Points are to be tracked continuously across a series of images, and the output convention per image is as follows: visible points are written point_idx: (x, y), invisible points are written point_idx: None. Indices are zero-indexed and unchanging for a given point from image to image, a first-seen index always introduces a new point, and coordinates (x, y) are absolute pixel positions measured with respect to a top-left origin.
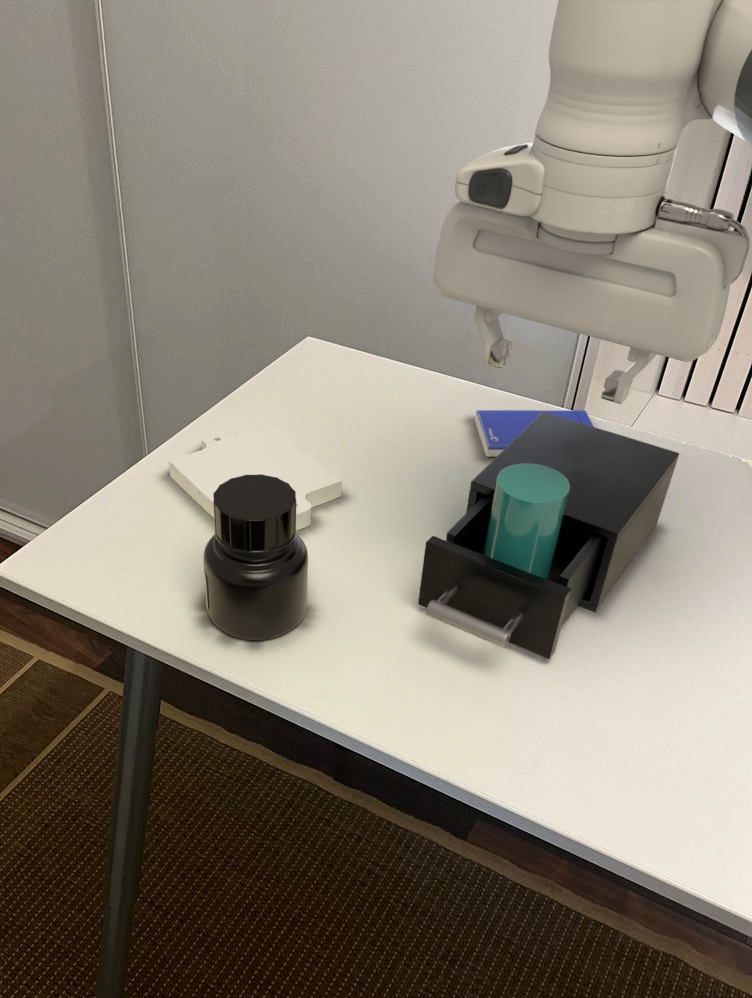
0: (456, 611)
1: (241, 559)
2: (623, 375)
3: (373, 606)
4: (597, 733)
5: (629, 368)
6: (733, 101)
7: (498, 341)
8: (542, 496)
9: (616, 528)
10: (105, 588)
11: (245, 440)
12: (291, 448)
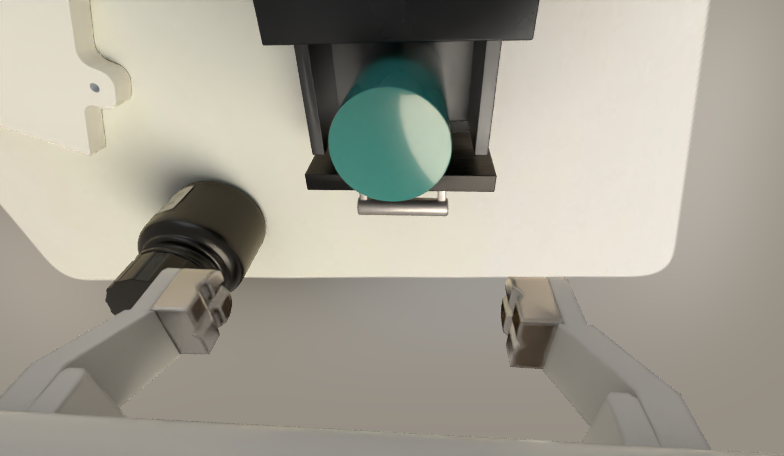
0: (387, 211)
1: None
2: (563, 392)
3: (292, 157)
4: (548, 191)
5: (582, 412)
6: None
7: (170, 334)
8: (420, 177)
9: (526, 27)
10: (122, 256)
11: None
12: None
